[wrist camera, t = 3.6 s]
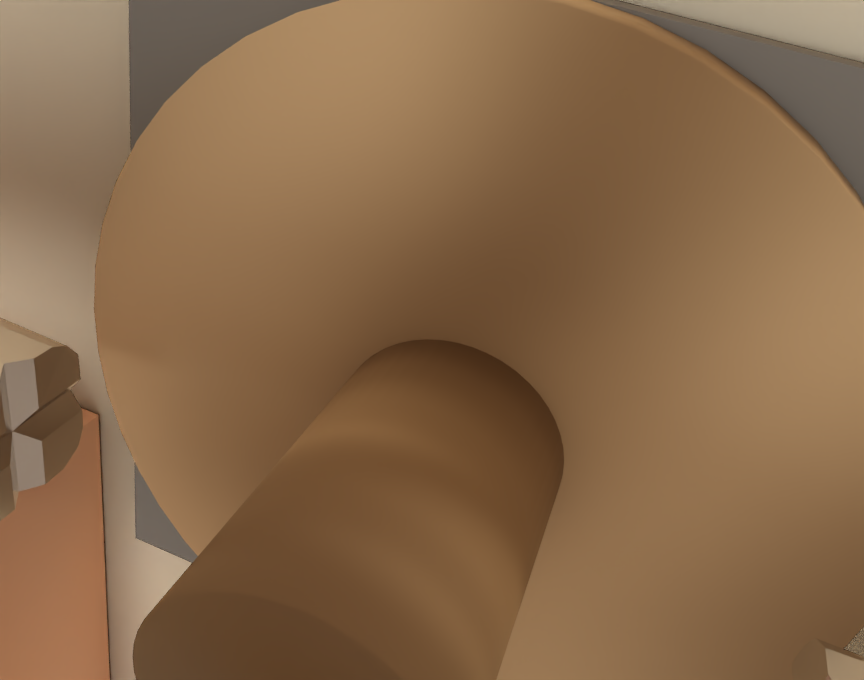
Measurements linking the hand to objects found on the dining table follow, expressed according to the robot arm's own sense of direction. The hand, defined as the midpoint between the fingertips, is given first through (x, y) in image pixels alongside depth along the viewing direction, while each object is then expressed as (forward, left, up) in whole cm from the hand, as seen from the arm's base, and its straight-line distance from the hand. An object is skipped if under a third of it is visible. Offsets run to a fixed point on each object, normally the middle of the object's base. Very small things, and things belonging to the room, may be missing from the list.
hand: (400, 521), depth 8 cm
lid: (0, 0, -2) cm, 2 cm away
